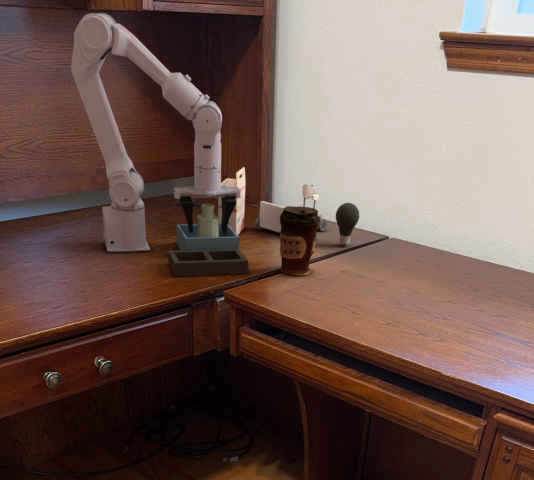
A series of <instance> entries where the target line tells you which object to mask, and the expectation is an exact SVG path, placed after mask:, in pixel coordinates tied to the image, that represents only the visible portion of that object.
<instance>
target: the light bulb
mask: <svg viewBox="0 0 534 480" xmlns="http://www.w3.org/2000/svg"><path fill="white" fill-rule="evenodd" d="M359 219H360V211H359V208H358V207H357V205H355V204H354V203H352V202H344V203H342V204H341V205H340V206H338V208H337V210H336V212H335V222H336V224H337V227H338V233H339V240H338V241H339V242H338V243H339V244H340V245H341V247H344V248H345V247H347V245H349V244H350V243H351V236H352V233H353V230H354V229H355V227H356V226H357V224H358V222H359Z"/></svg>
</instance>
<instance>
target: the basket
mask: <svg viewBox="0 0 534 480" xmlns="http://www.w3.org/2000/svg"><path fill="white" fill-rule="evenodd" d="M176 245H177V247H178V248H179V251H181V250H214V249H239V250H240V236H239V234H238V235H237V234H236V233H235V231H234V230H233V229H232V228H231V227H230V225H229V224H228V226H227V231H226V232H223V231H222V229H221V224H219V237H199V238H197V234H196V223H193V233H190V232H189V231H188V224H187V223H185V224H183V223H182V224H176Z"/></svg>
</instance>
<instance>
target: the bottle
mask: <svg viewBox="0 0 534 480" xmlns="http://www.w3.org/2000/svg"><path fill="white" fill-rule="evenodd" d="M200 210H201V211H200V214H198V215H196V217H195V219H196V221H195V222H196V223H195V224H196V234H197V238H199V237H219V217H218V215H216V214H215V205H214V204H212V203H202V204H201V205H200Z"/></svg>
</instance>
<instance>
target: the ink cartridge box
mask: <svg viewBox="0 0 534 480" xmlns="http://www.w3.org/2000/svg"><path fill="white" fill-rule="evenodd" d="M221 186H224V187H239V188H240V189H241V196H240V198H236V200H237V203H236V206H235V208H234V210H233V212H232V214H231V216H230V219H229V222H228V224H229V225H230V227H231V228H232V229H233V230H234V231H235V233H236V234H237V235H238V236H239V235H240V234H241V232H242V231H243V230H244V228H245V209H246V208H245V207H246V206H245V205H246V204H245V203H246V169H245V166H243V167H242V168H240V169H239V170H237V172H236V173H235V178H228V177H227V178H225V179H224V180H223V181H221ZM217 202H218V203H217V216H218V217H219V224H221V222H222V202H221V198H217Z"/></svg>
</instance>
